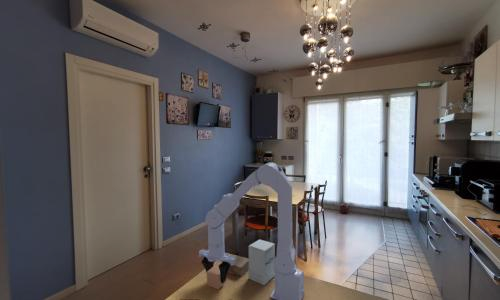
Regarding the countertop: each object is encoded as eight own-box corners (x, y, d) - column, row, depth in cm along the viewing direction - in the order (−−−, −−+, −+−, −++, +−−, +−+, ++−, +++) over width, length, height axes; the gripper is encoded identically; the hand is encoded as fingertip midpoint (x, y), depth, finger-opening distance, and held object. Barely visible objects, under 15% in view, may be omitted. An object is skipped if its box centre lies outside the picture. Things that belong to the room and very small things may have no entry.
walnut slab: (250, 268, 95) (250, 259, 94) (241, 277, 88) (241, 267, 88) (233, 263, 98) (233, 254, 98) (223, 272, 92) (223, 262, 92)
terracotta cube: (226, 281, 86) (226, 268, 85) (218, 289, 81) (218, 275, 81) (215, 278, 88) (215, 264, 88) (207, 285, 83) (206, 271, 83)
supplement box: (264, 286, 83) (264, 250, 82) (248, 278, 87) (247, 245, 87) (275, 276, 89) (275, 243, 88) (259, 269, 93) (259, 238, 93)
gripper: (193, 242, 84) (193, 280, 84) (227, 251, 77) (228, 291, 78) (205, 235, 90) (205, 270, 90) (238, 242, 83) (238, 280, 84)
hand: (216, 279), depth 84 cm, fingers closed on terracotta cube, 5 cm apart
